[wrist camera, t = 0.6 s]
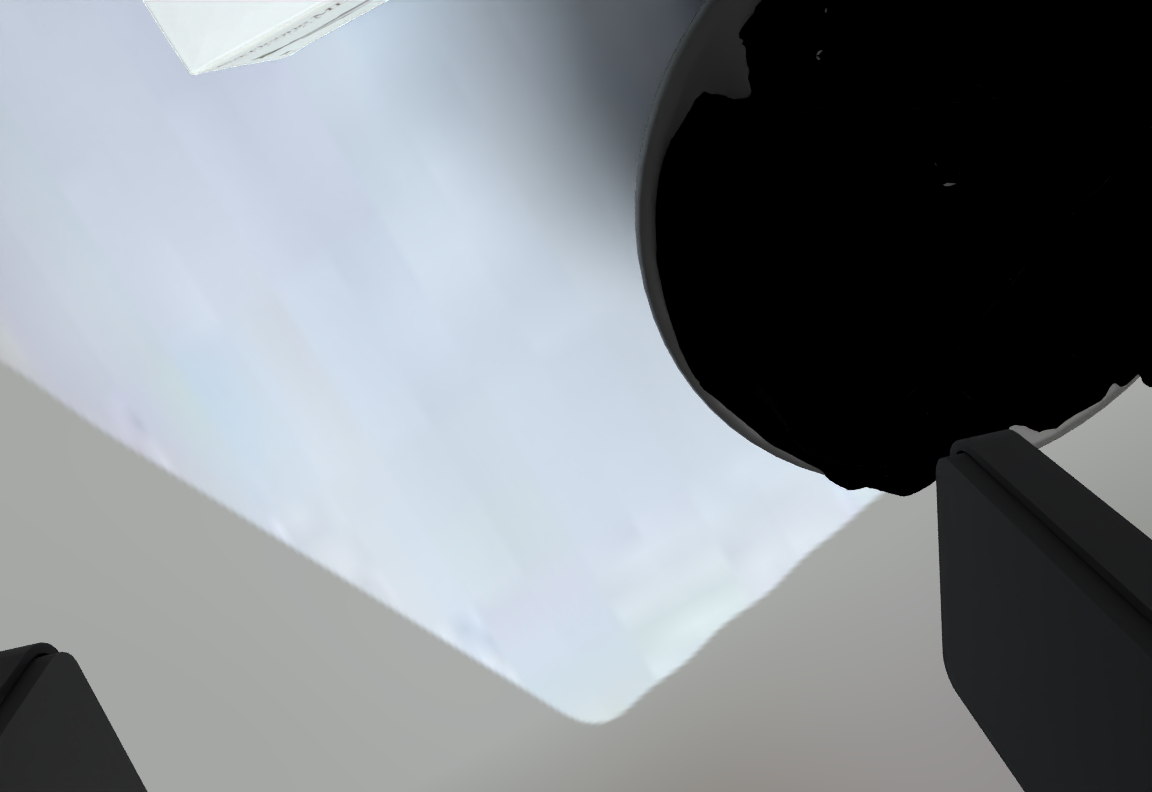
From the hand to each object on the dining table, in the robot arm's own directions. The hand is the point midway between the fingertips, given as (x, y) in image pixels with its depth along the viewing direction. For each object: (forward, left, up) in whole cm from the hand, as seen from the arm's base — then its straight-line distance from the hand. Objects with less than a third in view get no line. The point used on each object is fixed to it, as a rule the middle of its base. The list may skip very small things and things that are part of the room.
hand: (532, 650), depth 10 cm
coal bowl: (+2, +14, -30) cm, 33 cm away
